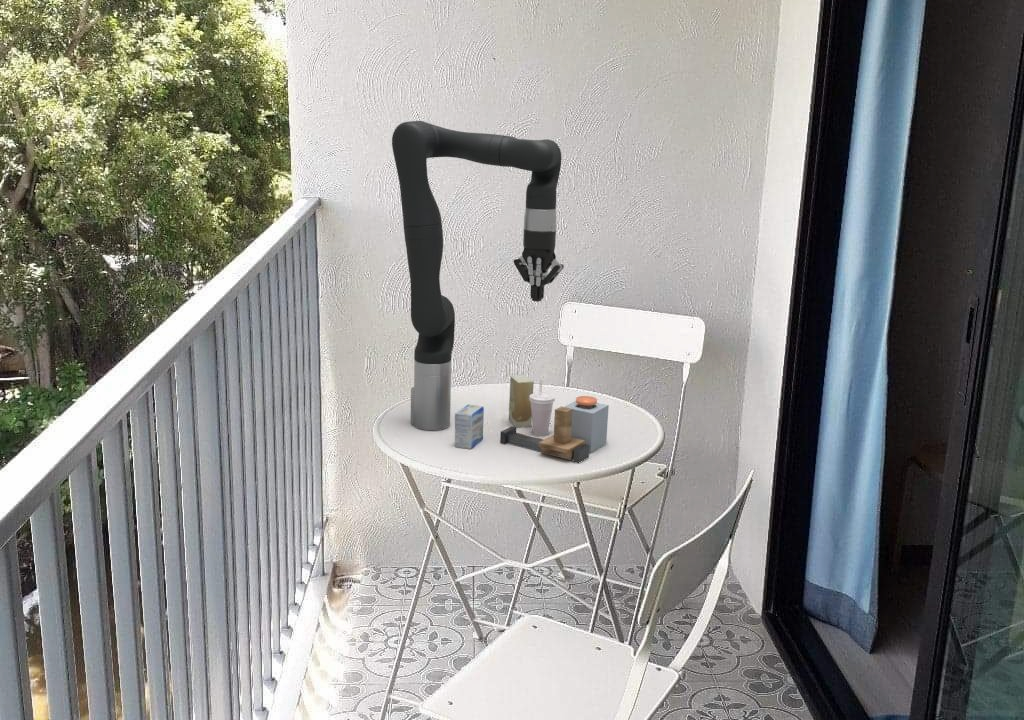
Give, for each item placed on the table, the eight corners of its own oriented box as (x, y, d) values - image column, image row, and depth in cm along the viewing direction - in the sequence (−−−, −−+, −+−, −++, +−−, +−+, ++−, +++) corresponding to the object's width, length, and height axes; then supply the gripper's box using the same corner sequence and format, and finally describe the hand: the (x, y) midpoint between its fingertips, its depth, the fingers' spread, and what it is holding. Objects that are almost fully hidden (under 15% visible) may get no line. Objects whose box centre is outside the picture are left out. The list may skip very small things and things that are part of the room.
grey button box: (561, 446, 243) (563, 406, 240) (577, 437, 250) (579, 399, 247) (590, 453, 239) (592, 413, 236) (606, 444, 245) (608, 405, 243)
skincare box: (507, 420, 261) (509, 375, 257) (523, 419, 262) (525, 374, 259) (516, 428, 255) (518, 382, 251) (532, 426, 256) (534, 381, 253)
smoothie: (538, 427, 256) (540, 374, 252) (558, 433, 252) (560, 379, 249) (522, 433, 251) (524, 379, 248) (542, 439, 247) (545, 384, 244)
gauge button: (570, 426, 242) (572, 399, 240) (581, 421, 246) (582, 394, 244) (589, 430, 240) (590, 403, 238) (599, 425, 244) (600, 398, 242)
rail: (500, 443, 244) (500, 431, 243) (511, 437, 248) (511, 426, 247) (578, 463, 232) (579, 451, 232) (588, 457, 236) (589, 445, 236)
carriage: (538, 454, 236) (540, 410, 233) (555, 444, 243) (557, 401, 240) (567, 461, 232) (570, 416, 229) (584, 451, 239) (586, 408, 236)
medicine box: (471, 449, 239) (472, 415, 236) (453, 447, 240) (454, 412, 238) (483, 439, 246) (484, 405, 244) (466, 436, 247) (467, 403, 245)
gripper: (507, 226, 233) (504, 299, 237) (556, 232, 226) (552, 307, 231) (524, 223, 239) (521, 294, 244) (572, 229, 232) (569, 302, 237)
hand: (536, 300), depth 237 cm, fingers closed
